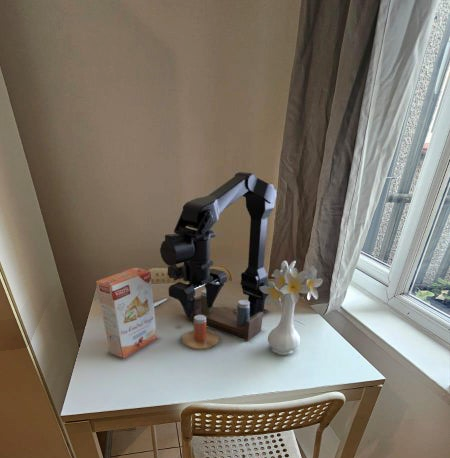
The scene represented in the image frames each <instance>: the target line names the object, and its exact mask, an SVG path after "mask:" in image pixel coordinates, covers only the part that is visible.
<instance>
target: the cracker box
mask: <svg viewBox="0 0 450 458" xmlns="http://www.w3.org/2000/svg"><path fill="white" fill-rule="evenodd" d="M95 283H96V284H95V285H96V289H97V294H98V300H99V304H100V310H101V314H102V320H103V326H104V331H105V337H106V341H107V346H108V352H109V353H110V354H111V355H114V356H116V357H119V358H120V359H125V358H127V357H129V356H130V355H132V354H134V353H135V352H137V351H139V350H140V349H142V348H144V347H145V346H147V345H148V344H150V343H152V342H154V341H156V340H157V339H158V338H157V328H156V317H155V307H154V304H153V303H154V296H153V295H154V294H153V283H152V273H151V271H150V270H147V269H144V268H140V267H137V266H136V267H133V268H129V269H126V270H124V271H121V272H118V273H115V274H113V275H109V276H107V277H103V278H101V279H98V280H96V281H95Z"/></svg>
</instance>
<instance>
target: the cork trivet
mask: <svg viewBox="0 0 450 458" xmlns="http://www.w3.org/2000/svg"><path fill="white" fill-rule="evenodd" d="M181 341H182V344H183V345H184V346H185V347H186V348H189V349H192V350H197V351H198V350H199V351H201V350H209V349H212V348H214V347H216V346H217V345H218V343H219V336H218V334H217V333H216V332H215V333H214V332H213V331H210V330H207V339H206V340H205V341H202V342H199V341H196V340H195V339H194V330H191V331H188V332H186V333H184V335H182V338H181Z"/></svg>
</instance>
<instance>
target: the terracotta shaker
mask: <svg viewBox="0 0 450 458" xmlns="http://www.w3.org/2000/svg"><path fill="white" fill-rule="evenodd" d="M193 331H194V339H195V340H196V341H199V342H202V341H205V340H206V339H207V331H208V326H207V321H206V316H204V315H196V316H195V317H194V321H193Z"/></svg>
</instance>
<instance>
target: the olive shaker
mask: <svg viewBox="0 0 450 458" xmlns="http://www.w3.org/2000/svg"><path fill="white" fill-rule="evenodd" d="M200 296H201V309H202V312H203V313H206V314H209V313H212V312H213V307H214V304H213V305H212V307H211V308H208V307H207V297H206V288H204V289H202V290H201V294H200Z"/></svg>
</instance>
